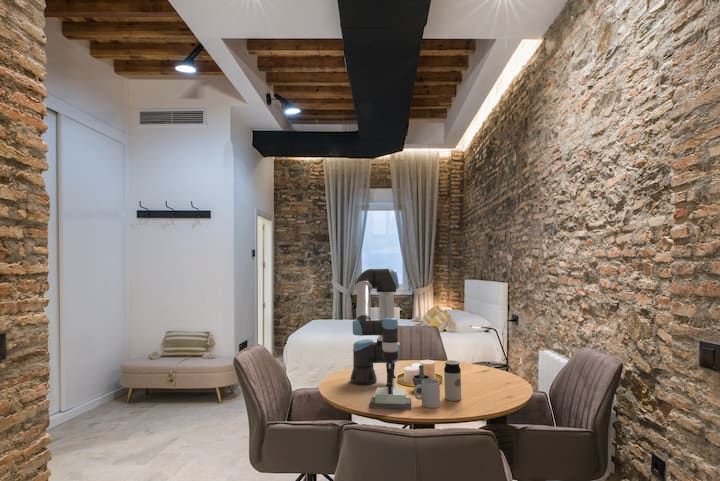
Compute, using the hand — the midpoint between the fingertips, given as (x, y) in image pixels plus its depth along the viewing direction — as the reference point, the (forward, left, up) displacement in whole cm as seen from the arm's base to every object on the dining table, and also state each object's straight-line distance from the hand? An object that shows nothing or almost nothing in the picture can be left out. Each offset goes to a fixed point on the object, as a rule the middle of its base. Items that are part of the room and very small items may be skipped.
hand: (391, 396), depth 191 cm
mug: (-2, +17, -4) cm, 18 cm away
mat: (0, 0, -4) cm, 4 cm away
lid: (0, 0, -2) cm, 2 cm away
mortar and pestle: (-27, +15, -4) cm, 32 cm away
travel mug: (-13, +30, -4) cm, 33 cm away
